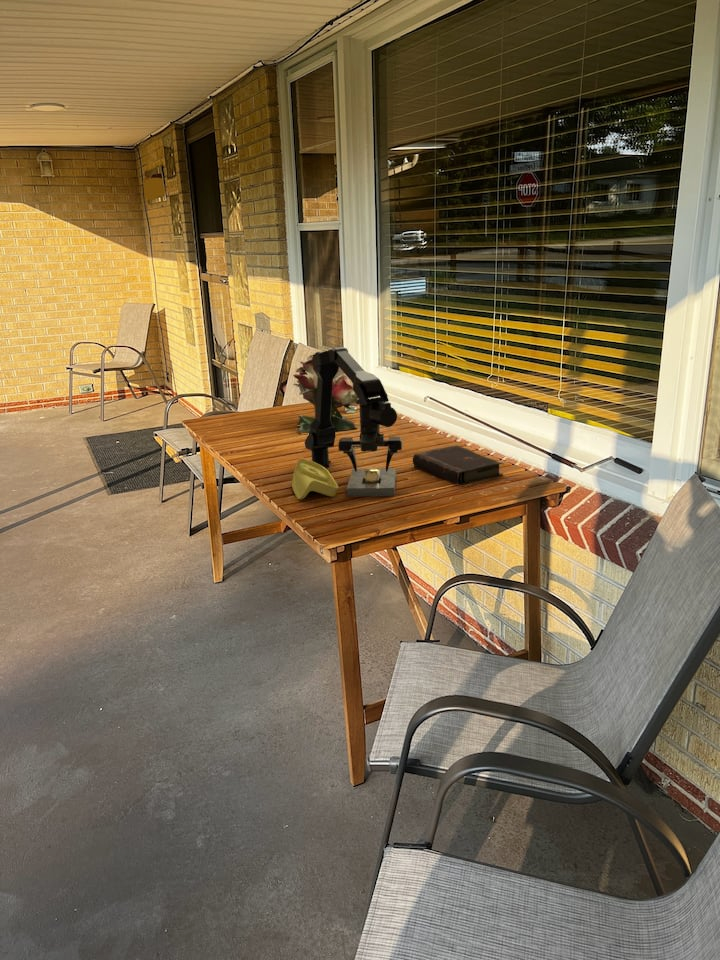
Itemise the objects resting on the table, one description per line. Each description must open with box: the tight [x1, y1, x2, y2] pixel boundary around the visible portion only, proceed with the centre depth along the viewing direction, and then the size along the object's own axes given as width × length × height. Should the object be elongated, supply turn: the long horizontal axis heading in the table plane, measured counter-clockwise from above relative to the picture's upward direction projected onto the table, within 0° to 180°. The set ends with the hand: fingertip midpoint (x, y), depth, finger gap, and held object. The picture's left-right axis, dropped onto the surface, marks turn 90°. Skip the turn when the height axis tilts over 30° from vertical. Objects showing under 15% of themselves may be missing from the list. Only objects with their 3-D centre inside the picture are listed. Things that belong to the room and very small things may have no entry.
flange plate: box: [346, 467, 397, 497], centre depth 223 cm, size 20×14×3 cm
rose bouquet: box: [293, 352, 359, 434], centre depth 297 cm, size 26×29×30 cm
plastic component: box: [291, 457, 339, 501], centre depth 222 cm, size 20×8×10 cm
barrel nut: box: [364, 467, 378, 484], centre depth 219 cm, size 4×4×6 cm
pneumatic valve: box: [343, 398, 359, 414], centre depth 322 cm, size 6×12×12 cm, turn 101°
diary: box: [412, 445, 504, 487], centre depth 234 cm, size 19×25×5 cm
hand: (371, 471), depth 219 cm, fingers open, 9 cm apart
